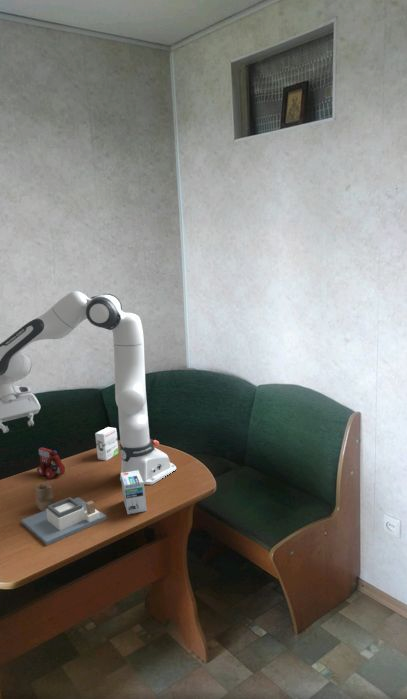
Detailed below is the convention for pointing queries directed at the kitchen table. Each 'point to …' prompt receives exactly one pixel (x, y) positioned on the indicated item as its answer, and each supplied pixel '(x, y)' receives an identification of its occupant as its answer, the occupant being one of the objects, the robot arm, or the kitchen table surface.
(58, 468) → the toy fire truck
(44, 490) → the walnut block
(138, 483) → the light bulb box
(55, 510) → the build plate
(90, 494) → the kitchen table surface
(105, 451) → the ink box
